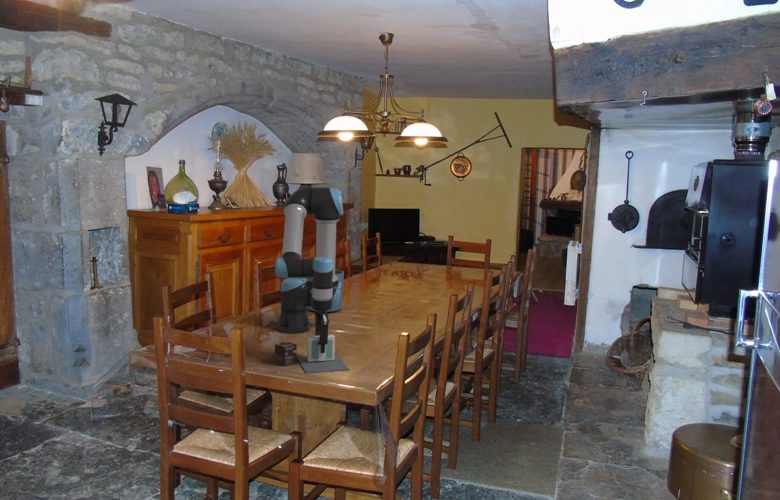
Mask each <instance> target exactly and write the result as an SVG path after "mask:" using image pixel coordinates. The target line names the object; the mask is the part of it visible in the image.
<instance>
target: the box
mask: <svg viewBox="0 0 780 500" xmlns="http://www.w3.org/2000/svg"><path fill="white" fill-rule="evenodd" d="M297 349H298V347H297V343H293V342H291V341H282V342H278V343H275V344H274V363H275V364H277V365H280V366H283V367H287V366H290V365H294V364H296V363H297V362H298V361H297V360H298V359H297V357H298V356H297V354H298V351H297Z"/></svg>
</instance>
